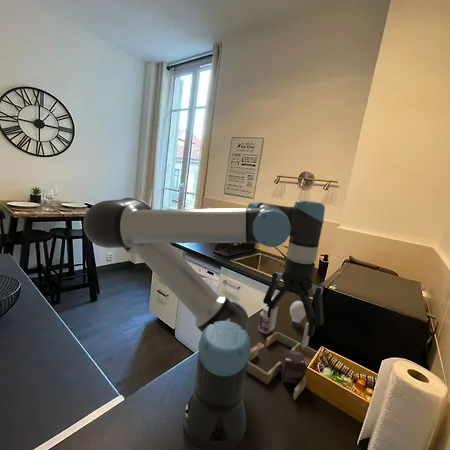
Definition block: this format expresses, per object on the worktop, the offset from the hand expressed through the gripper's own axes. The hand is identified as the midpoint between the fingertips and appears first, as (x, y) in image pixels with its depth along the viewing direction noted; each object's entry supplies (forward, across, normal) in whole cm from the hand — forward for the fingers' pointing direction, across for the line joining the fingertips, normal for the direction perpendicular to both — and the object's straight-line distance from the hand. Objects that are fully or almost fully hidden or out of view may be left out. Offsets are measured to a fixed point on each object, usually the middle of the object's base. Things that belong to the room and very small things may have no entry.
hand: (287, 337), depth 73 cm
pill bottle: (+18, +20, -26) cm, 37 cm away
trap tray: (+18, +6, -12) cm, 22 cm away
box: (+18, 0, -8) cm, 20 cm away
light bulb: (+18, +13, -41) cm, 46 cm away
